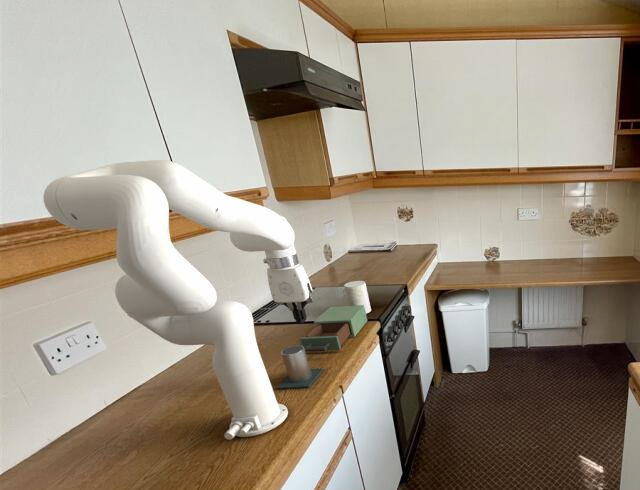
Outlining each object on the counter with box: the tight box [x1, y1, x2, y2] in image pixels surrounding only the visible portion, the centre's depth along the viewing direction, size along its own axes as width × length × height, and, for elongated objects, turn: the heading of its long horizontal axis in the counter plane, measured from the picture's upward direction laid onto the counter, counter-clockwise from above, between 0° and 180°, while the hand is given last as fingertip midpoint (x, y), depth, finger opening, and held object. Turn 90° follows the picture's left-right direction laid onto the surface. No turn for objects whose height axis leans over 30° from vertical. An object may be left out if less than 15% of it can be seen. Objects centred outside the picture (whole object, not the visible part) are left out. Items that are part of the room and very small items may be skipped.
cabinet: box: [313, 305, 368, 338], centre depth 150 cm, size 15×13×7 cm
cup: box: [343, 280, 372, 315], centre depth 166 cm, size 8×8×12 cm
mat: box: [276, 368, 324, 390], centre depth 119 cm, size 10×9×1 cm
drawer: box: [299, 322, 352, 353], centre depth 137 cm, size 18×12×5 cm, turn 1°
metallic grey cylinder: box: [280, 344, 312, 383], centre depth 117 cm, size 6×6×9 cm
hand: (301, 321), depth 122 cm, fingers closed
